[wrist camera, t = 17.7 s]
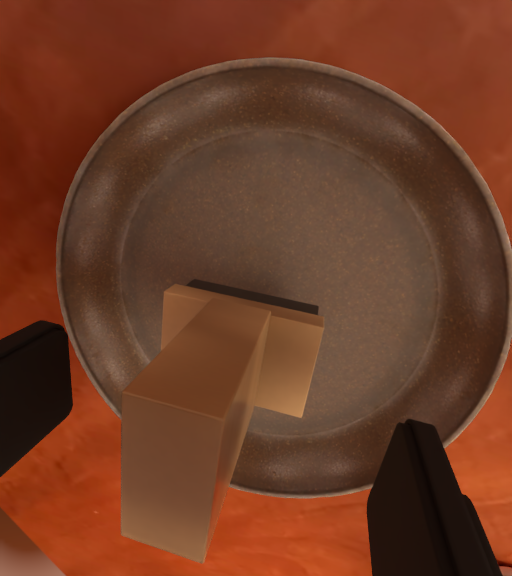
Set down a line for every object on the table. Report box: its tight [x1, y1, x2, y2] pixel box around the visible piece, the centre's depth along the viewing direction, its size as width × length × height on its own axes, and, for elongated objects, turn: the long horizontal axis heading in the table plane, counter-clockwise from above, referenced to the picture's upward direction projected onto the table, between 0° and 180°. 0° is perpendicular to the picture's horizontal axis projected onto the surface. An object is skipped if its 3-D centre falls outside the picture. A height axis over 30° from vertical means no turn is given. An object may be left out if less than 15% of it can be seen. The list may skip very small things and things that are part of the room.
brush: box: [121, 279, 324, 563], centre depth 11 cm, size 6×4×8 cm
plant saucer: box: [56, 57, 512, 498], centre depth 16 cm, size 21×21×3 cm
